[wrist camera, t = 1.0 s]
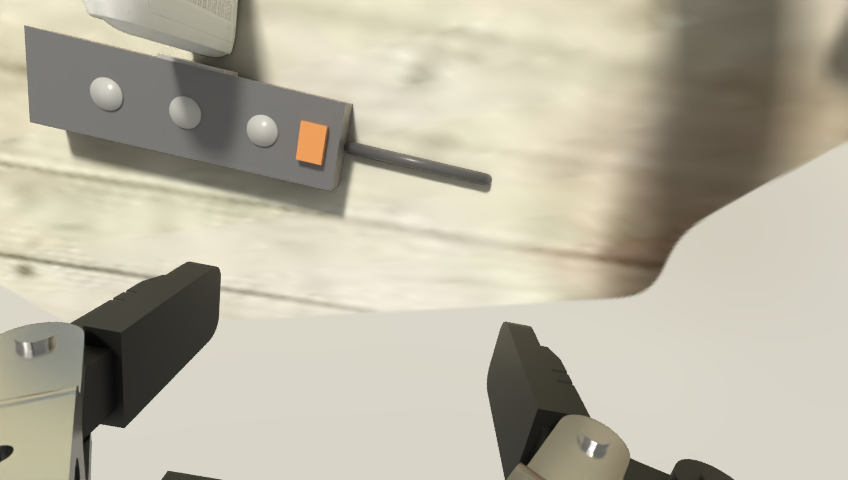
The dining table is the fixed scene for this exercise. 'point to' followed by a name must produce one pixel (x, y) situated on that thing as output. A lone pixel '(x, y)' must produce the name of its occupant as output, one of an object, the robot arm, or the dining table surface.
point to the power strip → (197, 112)
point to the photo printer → (173, 22)
